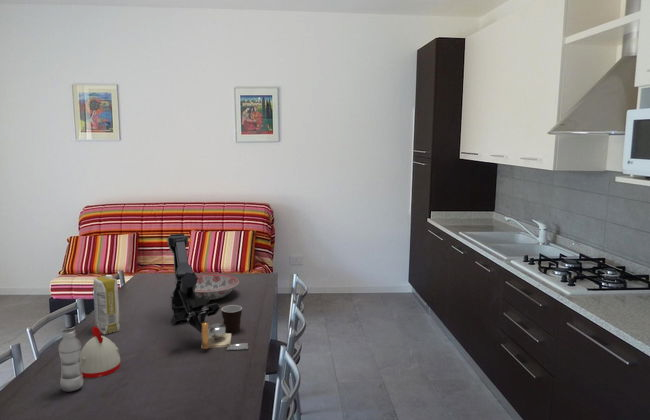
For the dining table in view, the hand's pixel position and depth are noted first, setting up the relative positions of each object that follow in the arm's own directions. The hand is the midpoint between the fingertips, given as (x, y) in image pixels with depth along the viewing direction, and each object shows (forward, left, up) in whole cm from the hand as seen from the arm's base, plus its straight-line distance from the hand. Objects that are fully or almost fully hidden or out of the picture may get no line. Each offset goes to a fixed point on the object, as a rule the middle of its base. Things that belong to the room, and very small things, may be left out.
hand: (203, 333), depth 181 cm
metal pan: (+3, +4, -5) cm, 7 cm away
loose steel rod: (+13, -2, -6) cm, 14 cm away
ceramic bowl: (-3, +62, -7) cm, 63 cm away
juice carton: (-42, +23, -7) cm, 49 cm away
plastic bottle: (-39, -25, -7) cm, 47 cm away
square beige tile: (+4, +7, -7) cm, 11 cm away
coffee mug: (+11, +18, -7) cm, 22 cm away
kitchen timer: (-35, -11, -7) cm, 37 cm away
